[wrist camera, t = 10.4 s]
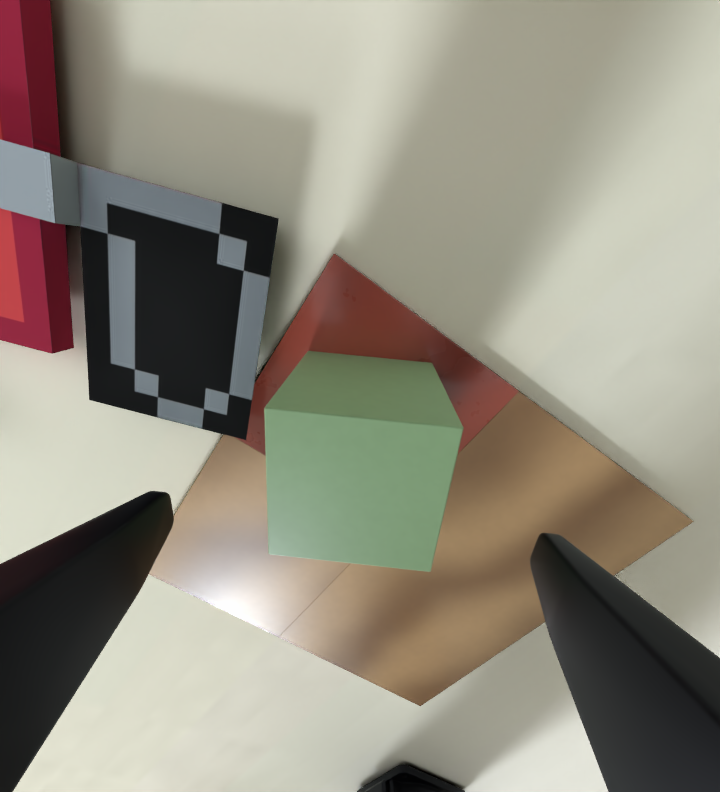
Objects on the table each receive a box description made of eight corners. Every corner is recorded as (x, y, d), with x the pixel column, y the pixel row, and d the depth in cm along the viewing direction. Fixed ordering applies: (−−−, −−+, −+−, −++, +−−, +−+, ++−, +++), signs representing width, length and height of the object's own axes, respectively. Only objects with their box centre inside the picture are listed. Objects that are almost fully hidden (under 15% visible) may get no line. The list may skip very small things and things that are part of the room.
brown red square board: (690, 518, 16) (693, 521, 16) (420, 702, 23) (420, 706, 22) (334, 253, 12) (333, 253, 12) (142, 567, 19) (140, 570, 19)
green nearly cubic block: (432, 362, 13) (464, 427, 8) (414, 467, 15) (431, 572, 10) (307, 350, 13) (263, 407, 8) (305, 456, 15) (268, 554, 10)
